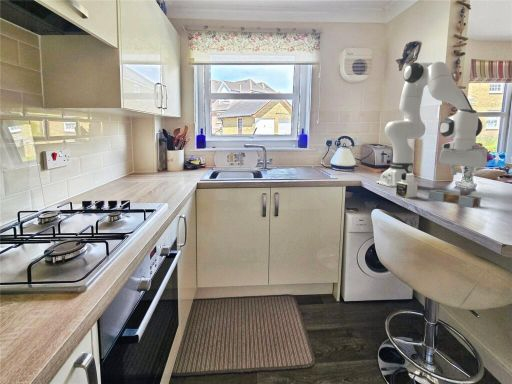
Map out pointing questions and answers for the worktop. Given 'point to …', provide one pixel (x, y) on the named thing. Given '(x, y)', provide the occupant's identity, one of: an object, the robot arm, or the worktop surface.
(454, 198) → the slat
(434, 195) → the cap closed
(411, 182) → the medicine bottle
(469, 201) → the cap open
